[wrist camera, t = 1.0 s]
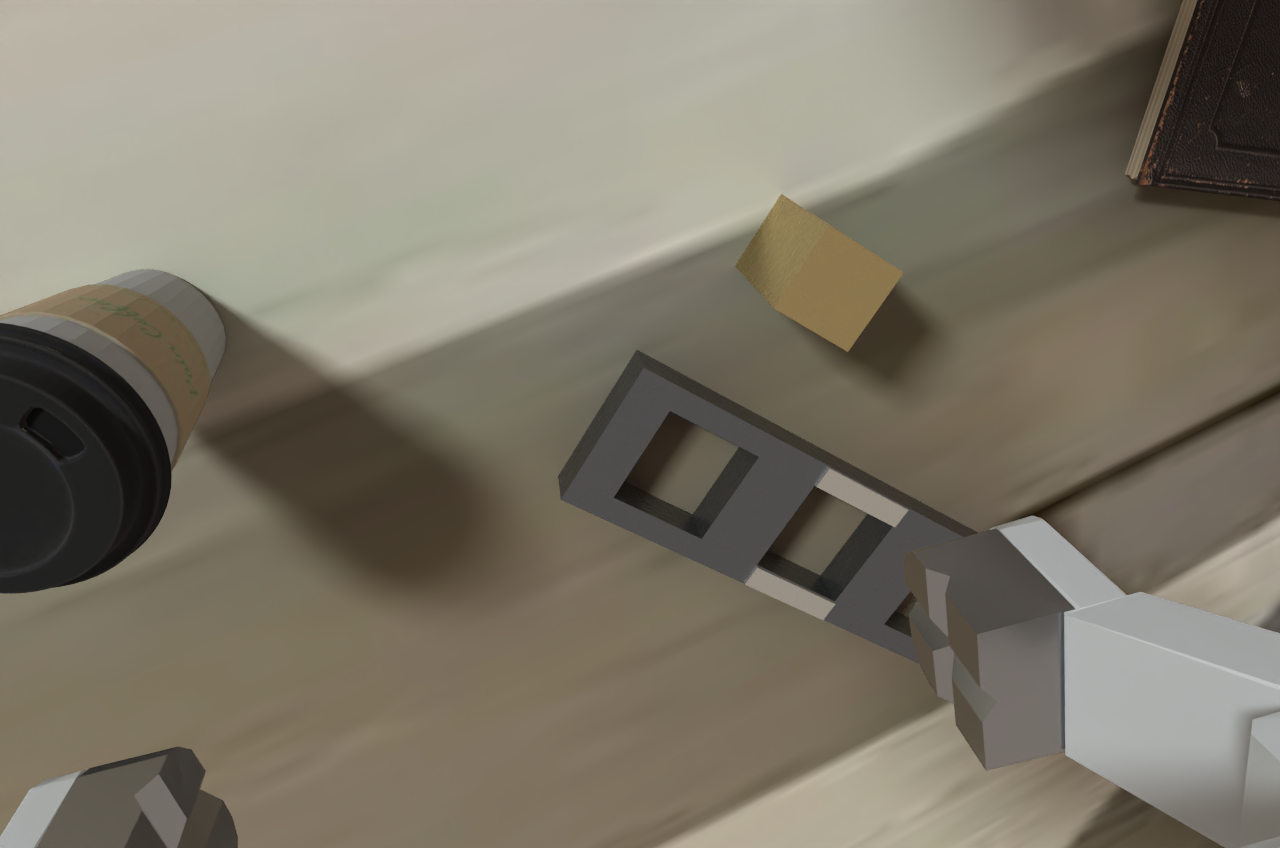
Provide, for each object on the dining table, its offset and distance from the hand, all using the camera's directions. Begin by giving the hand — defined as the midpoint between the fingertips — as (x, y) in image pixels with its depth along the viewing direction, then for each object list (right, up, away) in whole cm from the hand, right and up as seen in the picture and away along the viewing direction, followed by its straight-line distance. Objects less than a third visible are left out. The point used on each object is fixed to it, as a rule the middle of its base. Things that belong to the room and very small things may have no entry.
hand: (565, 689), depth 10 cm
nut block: (+8, +11, +34) cm, 36 cm away
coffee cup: (-21, +7, +31) cm, 39 cm away
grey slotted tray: (+10, -3, +40) cm, 42 cm away
